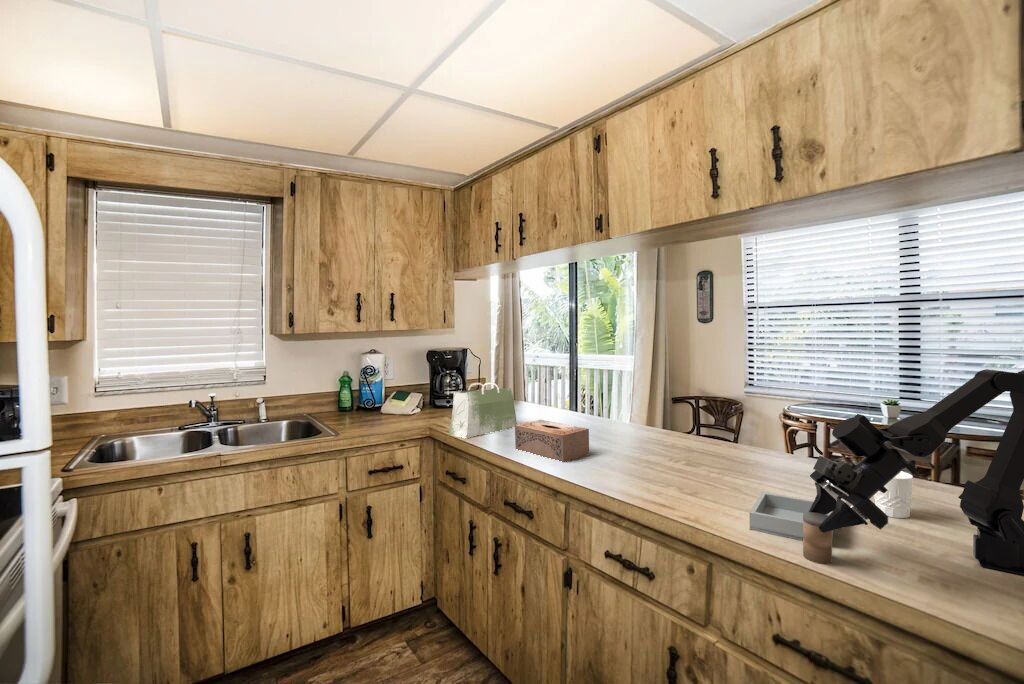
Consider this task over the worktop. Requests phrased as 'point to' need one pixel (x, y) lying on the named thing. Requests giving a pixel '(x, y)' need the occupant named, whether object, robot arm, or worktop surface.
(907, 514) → the white cup
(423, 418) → the worktop surface
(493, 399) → the grocery bag
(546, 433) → the tissue box cover
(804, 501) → the bin
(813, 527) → the spice jar
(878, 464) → the robot arm
